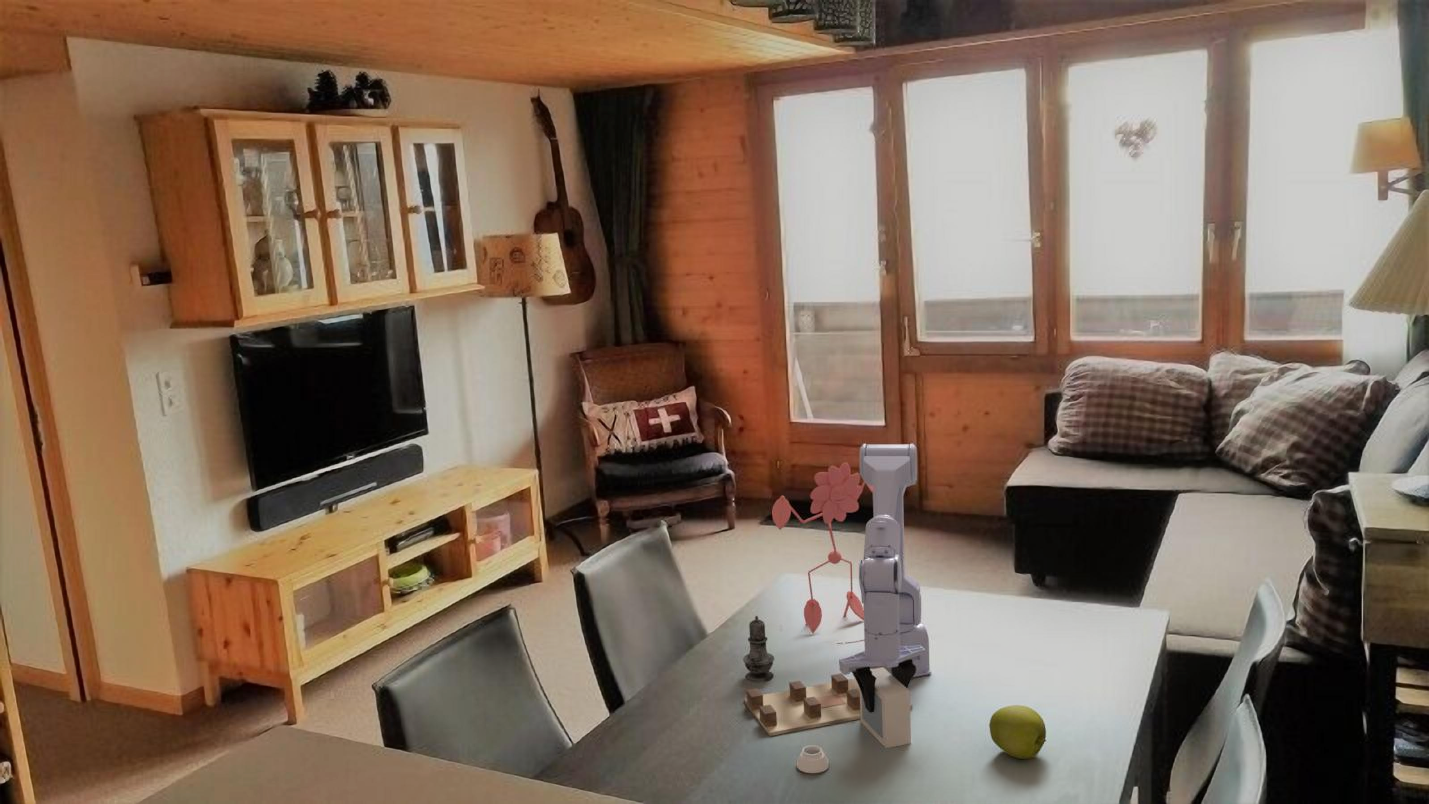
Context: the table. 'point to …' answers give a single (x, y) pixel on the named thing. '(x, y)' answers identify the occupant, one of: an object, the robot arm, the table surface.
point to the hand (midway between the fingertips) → (884, 707)
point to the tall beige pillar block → (888, 710)
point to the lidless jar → (812, 760)
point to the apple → (1018, 731)
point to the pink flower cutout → (834, 501)
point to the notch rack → (806, 705)
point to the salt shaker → (758, 654)
